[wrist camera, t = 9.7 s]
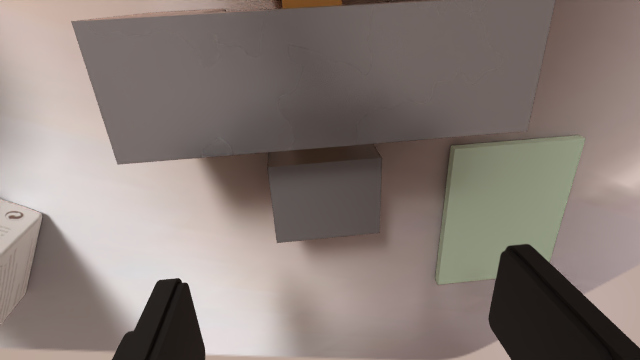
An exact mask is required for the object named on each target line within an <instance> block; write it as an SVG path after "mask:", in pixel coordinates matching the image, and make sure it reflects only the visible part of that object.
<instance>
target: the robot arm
mask: <svg viewBox="0 0 640 360" xmlns="http://www.w3.org/2000/svg"><path fill="white" fill-rule="evenodd" d="M489 324H490V327H491V329H492V331H493V332H494V334H495V335H496V337H497V338H498V340H499V341H500V343H501V344H502V346H503V347H504V349H505V350H506V352H507V354H508V355H509V357H510V358H511V360H640V348H639V347H638V346H637V345H636V344H635V343H634V342H632V341H631V340H630V339H629V338H628V337H627V336H626V335H625V334H624V333H623V332H622V331H621V330H620V329H619V328H618V327H617V326H616V325H615V324H614V323H612V322H611V321H610V320H609V319H608V318H607V317H606V316H605V315H604V314H603V313H602V312H601V311H600V310H599V309H598V308H597V307H596V306H595V305H594V304H592V303H591V302H590V301H589V300H588V299H587V298H586V297H585V296H584V295H583V294H582V293H581V292H580V291H579V290H578V289H577V288H576V287H575V286H573V285H572V284H571V283H570V282H569V281H568V280H567V279H566V278H565V277H564V276H563V275H562V274H561V273H560V272H559V271H558V270H557V269H556V268H555V267H553V266H552V265H551V264H550V263H549V262H548V261H547V260H546V259H545V258H544V257H543V256H542V255H541V254H540V253H539V252H538V251H537V250H536V249H535V248H533V247H532V246H531V245H530V244H521V245H511V246H508V247H507V248H506V250H505V251H503V252H502V253H501V255H500V261H499V266H498V271H497V276H496V281H495V287H494V292H493V297H492V302H491V307H490V312H489ZM112 360H205V347H204V343H203V339H202V336H201V332H200V328H199V324H198V320H197V316H196V312H195V309H194V305H193V301H192V297H191V293H190V289H189V286H188V284H187V283H182V281H181V280H180V279H179V278H176V279H166V280H159V281H157V283H156V285H155V287H154V289H153V291H152V293H151V296H150V298H149V300H148V302H147V304H146V306H145V308H144V311H143V313H142V315H141V317H140V319H139V321H138V323H137V326H136V328H135V330H134V331H131V332H128V333H126V334H125V336H124V337H123V339H122V341H121V343H120V345H119V347H118V349H117V351H116V353H115V355H114V357H113V359H112Z"/></svg>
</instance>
